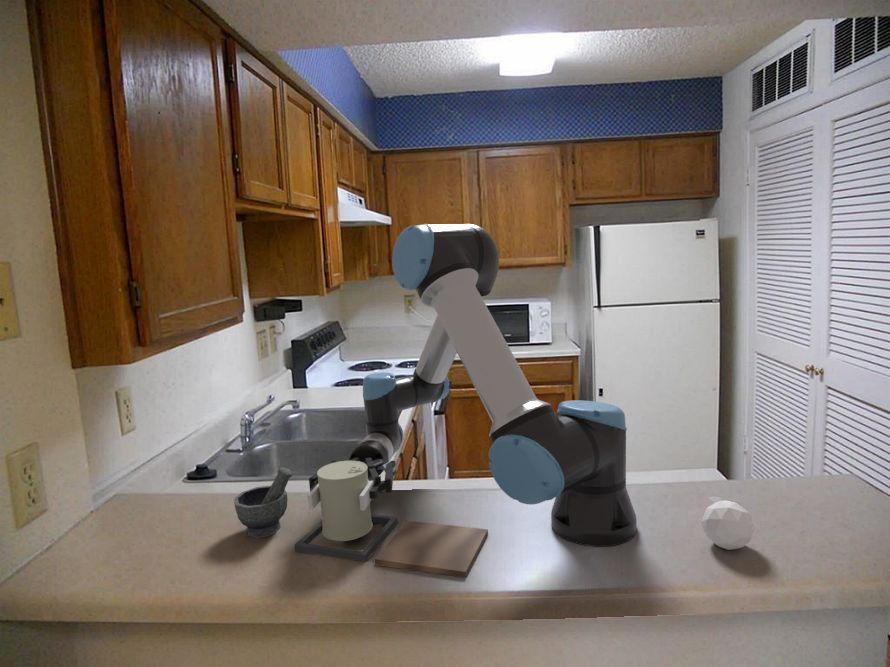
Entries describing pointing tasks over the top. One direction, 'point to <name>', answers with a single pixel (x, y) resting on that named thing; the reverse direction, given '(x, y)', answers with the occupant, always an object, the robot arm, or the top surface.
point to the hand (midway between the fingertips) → (336, 502)
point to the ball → (728, 525)
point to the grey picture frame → (346, 553)
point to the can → (343, 500)
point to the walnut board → (433, 548)
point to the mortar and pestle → (263, 506)
